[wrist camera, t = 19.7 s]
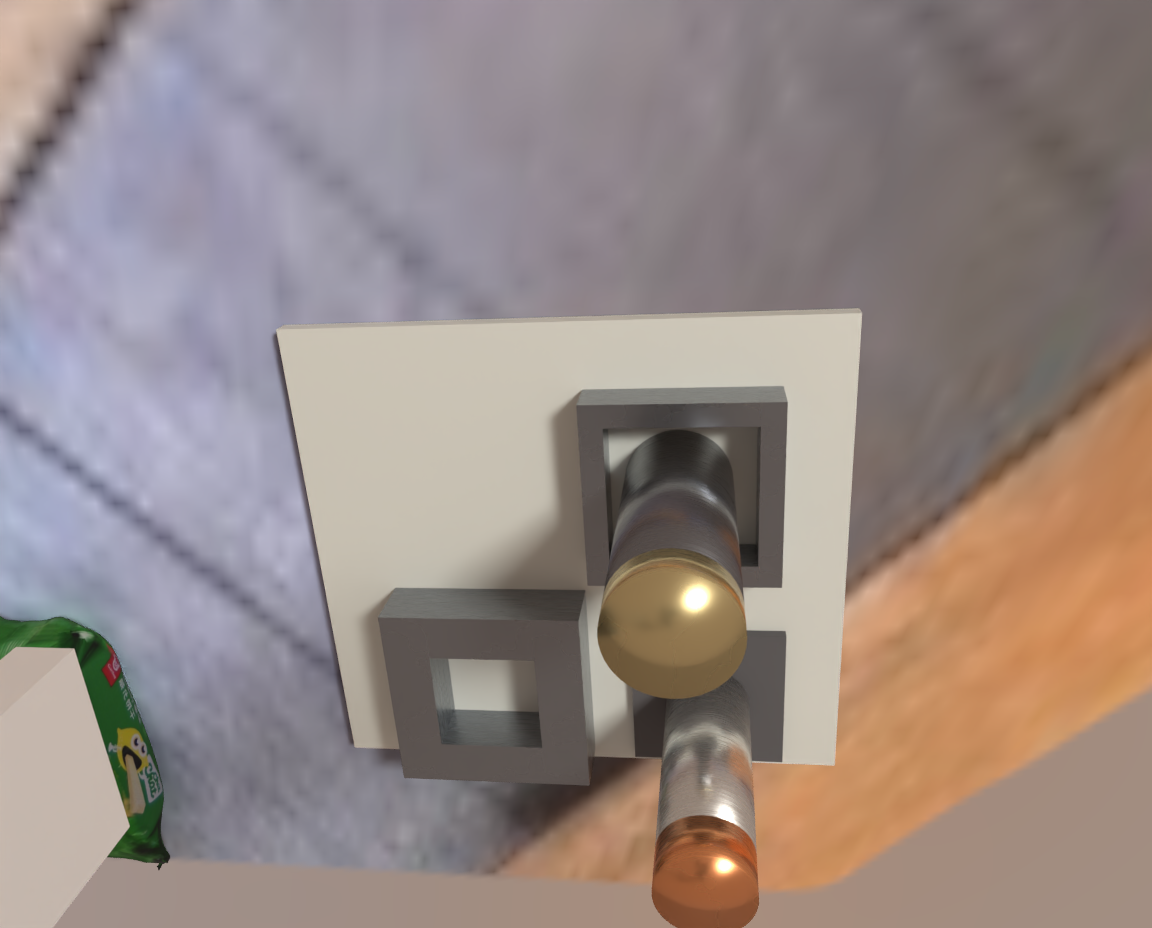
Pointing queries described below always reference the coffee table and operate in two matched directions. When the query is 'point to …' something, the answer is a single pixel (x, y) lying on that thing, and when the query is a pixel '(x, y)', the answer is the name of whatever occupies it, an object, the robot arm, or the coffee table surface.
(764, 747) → the pin pad
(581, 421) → the socket
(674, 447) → the cylinder
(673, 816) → the lock pin
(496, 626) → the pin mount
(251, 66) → the coffee table surface
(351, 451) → the dock board
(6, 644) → the snack package
